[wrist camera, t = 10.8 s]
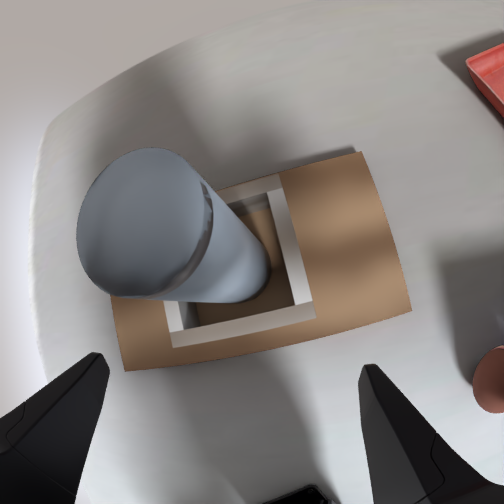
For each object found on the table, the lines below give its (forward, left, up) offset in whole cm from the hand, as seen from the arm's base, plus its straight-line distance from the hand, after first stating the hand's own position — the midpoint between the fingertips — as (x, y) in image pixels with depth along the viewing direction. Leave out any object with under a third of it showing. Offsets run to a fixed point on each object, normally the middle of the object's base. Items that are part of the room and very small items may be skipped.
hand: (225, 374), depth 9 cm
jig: (+1, +5, -12) cm, 13 cm away
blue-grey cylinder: (+1, +5, -11) cm, 12 cm away
